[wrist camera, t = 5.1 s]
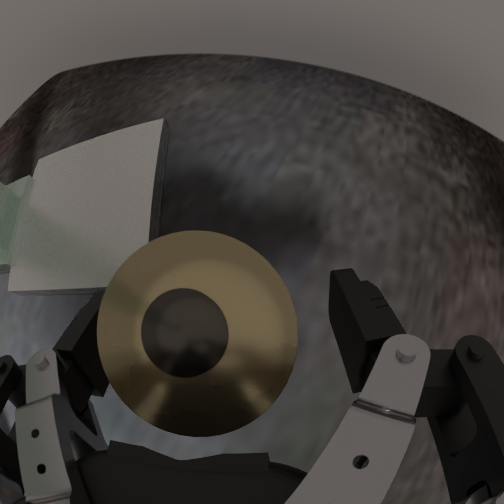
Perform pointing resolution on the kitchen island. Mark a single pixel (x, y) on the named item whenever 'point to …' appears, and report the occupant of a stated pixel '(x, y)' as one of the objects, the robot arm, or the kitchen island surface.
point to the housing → (197, 333)
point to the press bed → (83, 212)
